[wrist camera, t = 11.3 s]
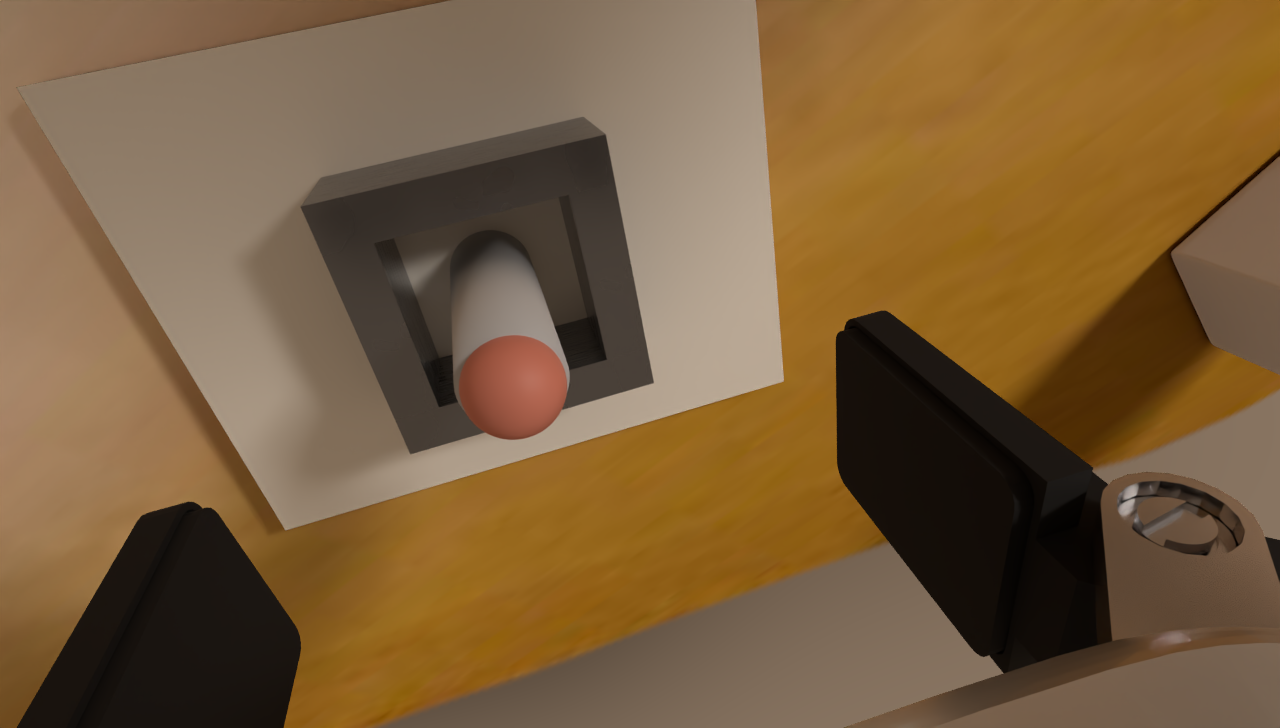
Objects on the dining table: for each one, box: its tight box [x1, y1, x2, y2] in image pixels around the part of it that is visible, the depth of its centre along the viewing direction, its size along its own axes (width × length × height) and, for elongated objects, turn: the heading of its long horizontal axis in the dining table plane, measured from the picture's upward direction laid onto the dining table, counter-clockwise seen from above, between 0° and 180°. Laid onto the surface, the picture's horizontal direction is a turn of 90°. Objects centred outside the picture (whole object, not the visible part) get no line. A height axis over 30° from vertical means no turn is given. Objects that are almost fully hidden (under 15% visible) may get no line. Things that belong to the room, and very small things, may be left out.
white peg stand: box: [16, 0, 784, 530], centre depth 17 cm, size 14×18×10 cm
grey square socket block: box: [301, 117, 654, 454], centre depth 19 cm, size 7×7×3 cm
